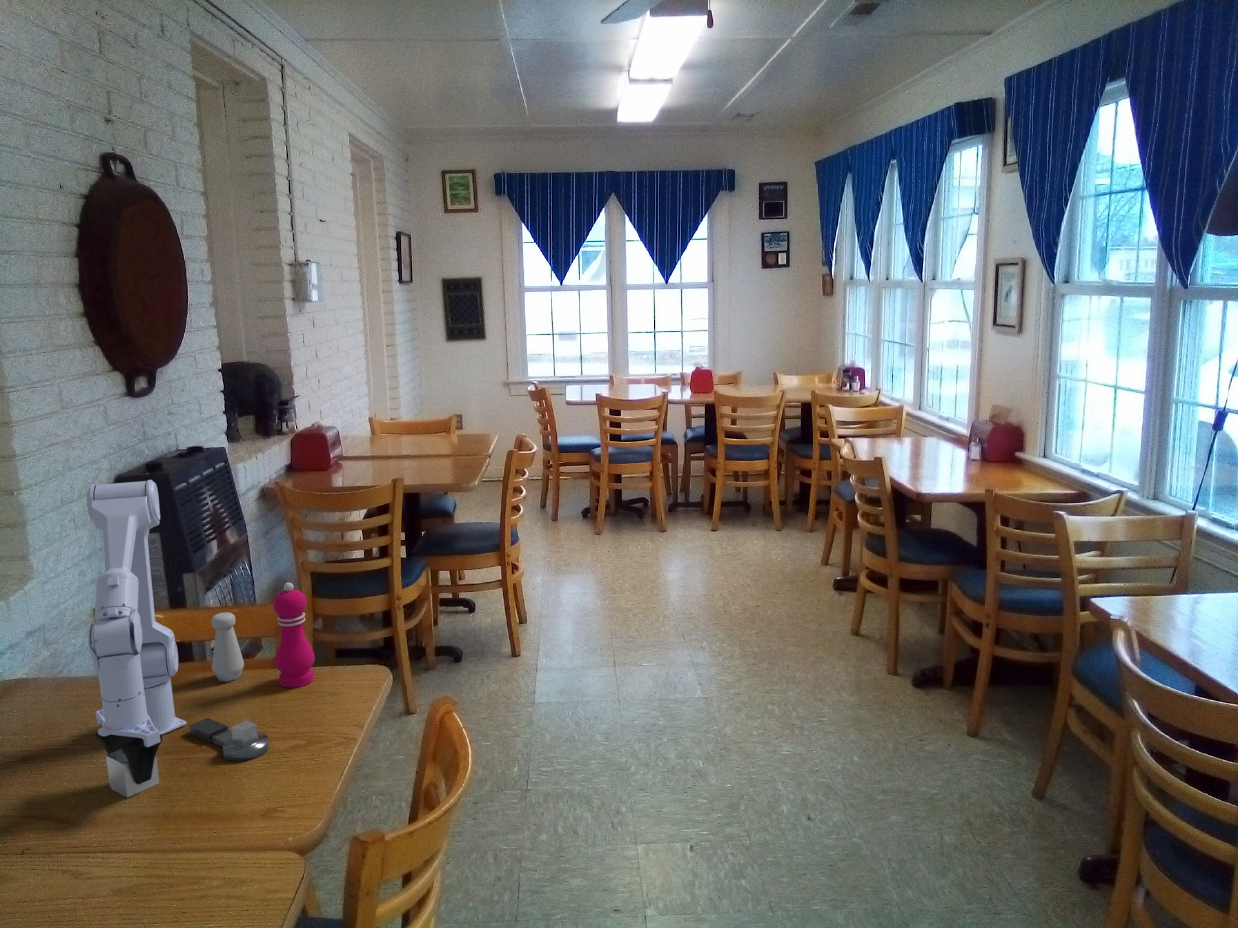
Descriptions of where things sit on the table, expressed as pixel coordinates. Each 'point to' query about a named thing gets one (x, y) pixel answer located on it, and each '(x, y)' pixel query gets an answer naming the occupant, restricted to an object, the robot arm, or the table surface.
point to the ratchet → (232, 738)
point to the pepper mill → (293, 639)
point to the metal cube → (127, 775)
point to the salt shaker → (226, 648)
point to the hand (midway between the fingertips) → (133, 775)
